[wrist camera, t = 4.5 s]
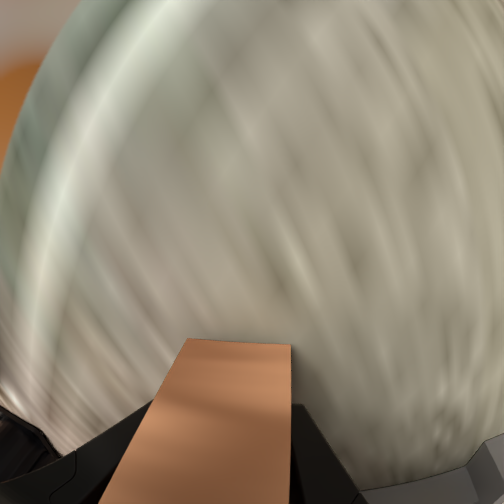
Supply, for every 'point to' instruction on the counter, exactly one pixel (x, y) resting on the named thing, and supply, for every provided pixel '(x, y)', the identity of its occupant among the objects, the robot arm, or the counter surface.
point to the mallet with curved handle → (213, 430)
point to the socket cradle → (454, 482)
